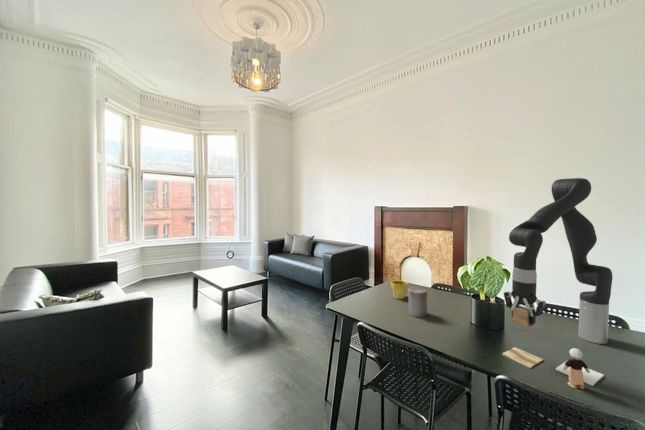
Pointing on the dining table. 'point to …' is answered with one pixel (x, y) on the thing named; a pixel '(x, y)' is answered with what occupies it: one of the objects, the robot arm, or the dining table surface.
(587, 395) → the dining table surface
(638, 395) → the dining table surface
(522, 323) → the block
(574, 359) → the grandmother figurine
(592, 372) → the pad
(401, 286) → the plant pot
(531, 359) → the pad
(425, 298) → the pillar candle
